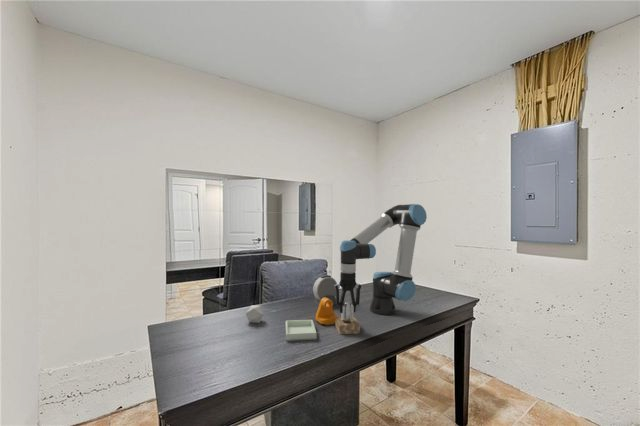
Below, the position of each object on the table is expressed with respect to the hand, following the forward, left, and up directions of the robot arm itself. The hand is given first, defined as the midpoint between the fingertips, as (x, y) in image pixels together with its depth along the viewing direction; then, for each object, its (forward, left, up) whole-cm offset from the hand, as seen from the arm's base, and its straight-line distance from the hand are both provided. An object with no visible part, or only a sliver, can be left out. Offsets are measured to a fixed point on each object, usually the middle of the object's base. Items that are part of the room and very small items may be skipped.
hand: (347, 318), depth 136 cm
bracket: (+8, -11, -5) cm, 15 cm away
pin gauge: (0, 0, -5) cm, 5 cm away
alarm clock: (+4, -42, -5) cm, 43 cm away
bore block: (0, 0, -5) cm, 5 cm away
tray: (+24, +2, -5) cm, 24 cm away
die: (+46, -15, -5) cm, 49 cm away
